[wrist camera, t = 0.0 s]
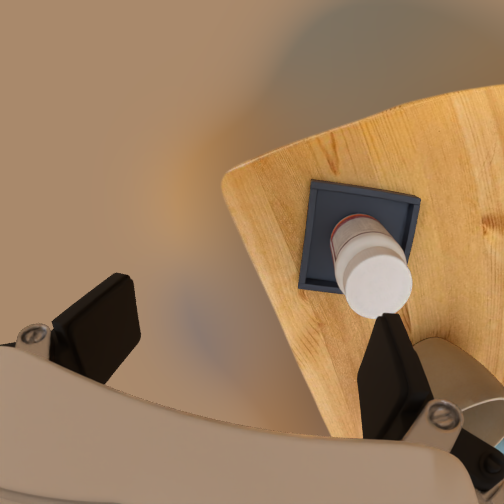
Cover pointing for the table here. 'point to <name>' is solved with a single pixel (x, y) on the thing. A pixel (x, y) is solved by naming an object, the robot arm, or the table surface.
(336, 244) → the pill bottle
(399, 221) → the dark square tray
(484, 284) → the table surface
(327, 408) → the table surface
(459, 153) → the table surface
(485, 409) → the plant pot
